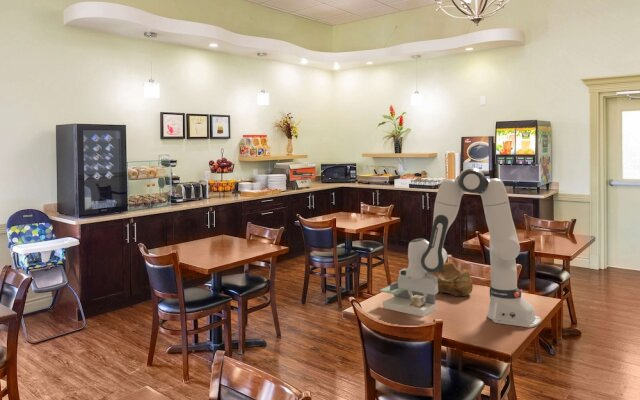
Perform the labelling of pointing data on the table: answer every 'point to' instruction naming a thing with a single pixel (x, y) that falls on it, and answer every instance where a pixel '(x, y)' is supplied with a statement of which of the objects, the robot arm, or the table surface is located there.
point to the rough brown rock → (454, 280)
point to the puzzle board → (404, 304)
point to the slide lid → (393, 289)
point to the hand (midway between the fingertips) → (417, 300)
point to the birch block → (417, 301)
